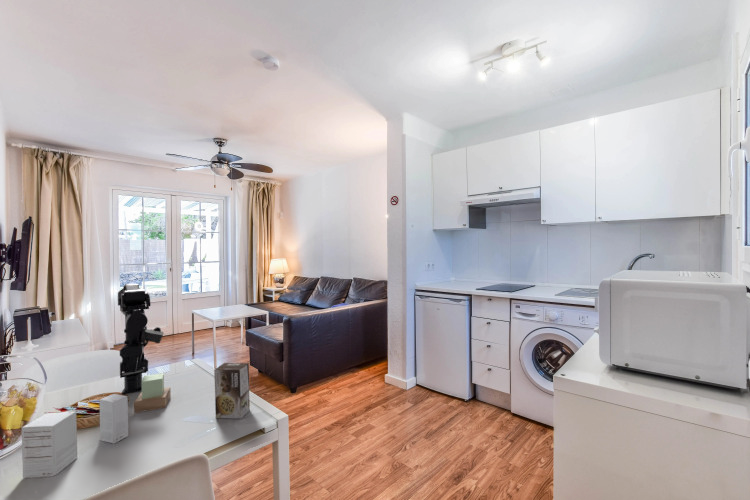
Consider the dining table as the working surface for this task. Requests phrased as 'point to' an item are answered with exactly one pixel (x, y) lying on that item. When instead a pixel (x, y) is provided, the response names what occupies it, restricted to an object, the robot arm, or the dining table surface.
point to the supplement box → (49, 444)
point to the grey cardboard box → (232, 390)
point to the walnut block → (152, 401)
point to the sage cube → (152, 385)
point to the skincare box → (113, 418)
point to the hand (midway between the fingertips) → (135, 367)
